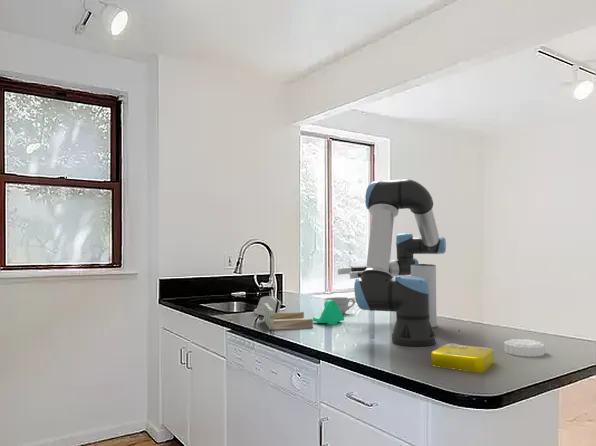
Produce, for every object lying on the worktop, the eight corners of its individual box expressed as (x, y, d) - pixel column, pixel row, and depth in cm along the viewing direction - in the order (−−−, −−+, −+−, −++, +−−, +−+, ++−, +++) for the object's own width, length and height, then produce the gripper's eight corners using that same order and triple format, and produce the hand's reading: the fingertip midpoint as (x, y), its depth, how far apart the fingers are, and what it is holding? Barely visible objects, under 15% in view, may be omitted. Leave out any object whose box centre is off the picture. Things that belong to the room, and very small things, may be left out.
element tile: (429, 367, 147) (428, 350, 147) (445, 357, 159) (445, 341, 160) (482, 374, 139) (481, 357, 139) (495, 362, 151) (494, 346, 151)
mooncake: (514, 347, 171) (514, 336, 171) (551, 352, 162) (551, 341, 162) (497, 352, 163) (497, 341, 163) (535, 359, 154) (534, 347, 154)
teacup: (324, 315, 245) (323, 298, 246) (329, 311, 256) (329, 295, 256) (352, 315, 241) (352, 299, 242) (356, 312, 252) (356, 296, 252)
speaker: (439, 324, 214) (437, 263, 215) (435, 328, 205) (433, 264, 205) (414, 323, 219) (412, 262, 219) (408, 327, 209) (407, 264, 210)
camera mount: (334, 320, 230) (334, 297, 230) (344, 322, 223) (343, 299, 223) (312, 323, 224) (311, 299, 224) (321, 325, 217) (320, 301, 218)
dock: (312, 327, 211) (312, 308, 212) (270, 329, 208) (269, 310, 209) (303, 319, 233) (302, 302, 233) (264, 321, 230) (264, 303, 230)
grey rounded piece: (253, 313, 255) (258, 293, 257) (260, 315, 258) (266, 296, 260) (269, 317, 241) (275, 296, 243) (277, 319, 244) (283, 299, 246)
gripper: (400, 281, 220) (356, 286, 213) (374, 273, 243) (333, 278, 237) (400, 264, 219) (355, 268, 213) (373, 258, 243) (333, 262, 236)
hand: (343, 273), depth 225 cm, fingers open, 13 cm apart
